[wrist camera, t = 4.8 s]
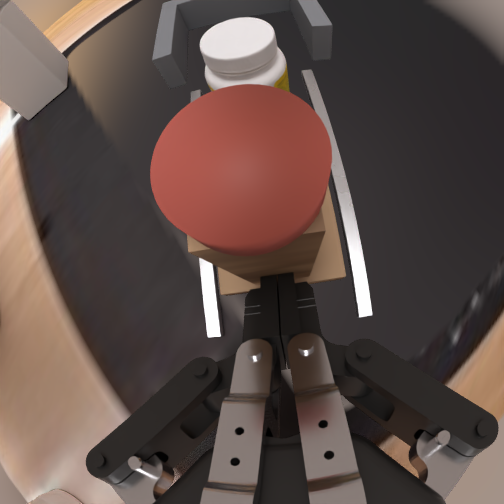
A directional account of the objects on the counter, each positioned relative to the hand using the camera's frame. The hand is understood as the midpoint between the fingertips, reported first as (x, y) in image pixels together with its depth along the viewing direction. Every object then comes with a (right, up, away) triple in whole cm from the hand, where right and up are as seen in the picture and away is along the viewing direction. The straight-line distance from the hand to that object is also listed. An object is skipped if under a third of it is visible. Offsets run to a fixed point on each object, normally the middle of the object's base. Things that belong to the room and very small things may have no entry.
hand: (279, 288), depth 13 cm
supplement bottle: (-1, +11, +7) cm, 13 cm away
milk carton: (-28, +23, +13) cm, 39 cm away
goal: (-2, +22, +9) cm, 24 cm away
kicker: (0, +2, +5) cm, 5 cm away
